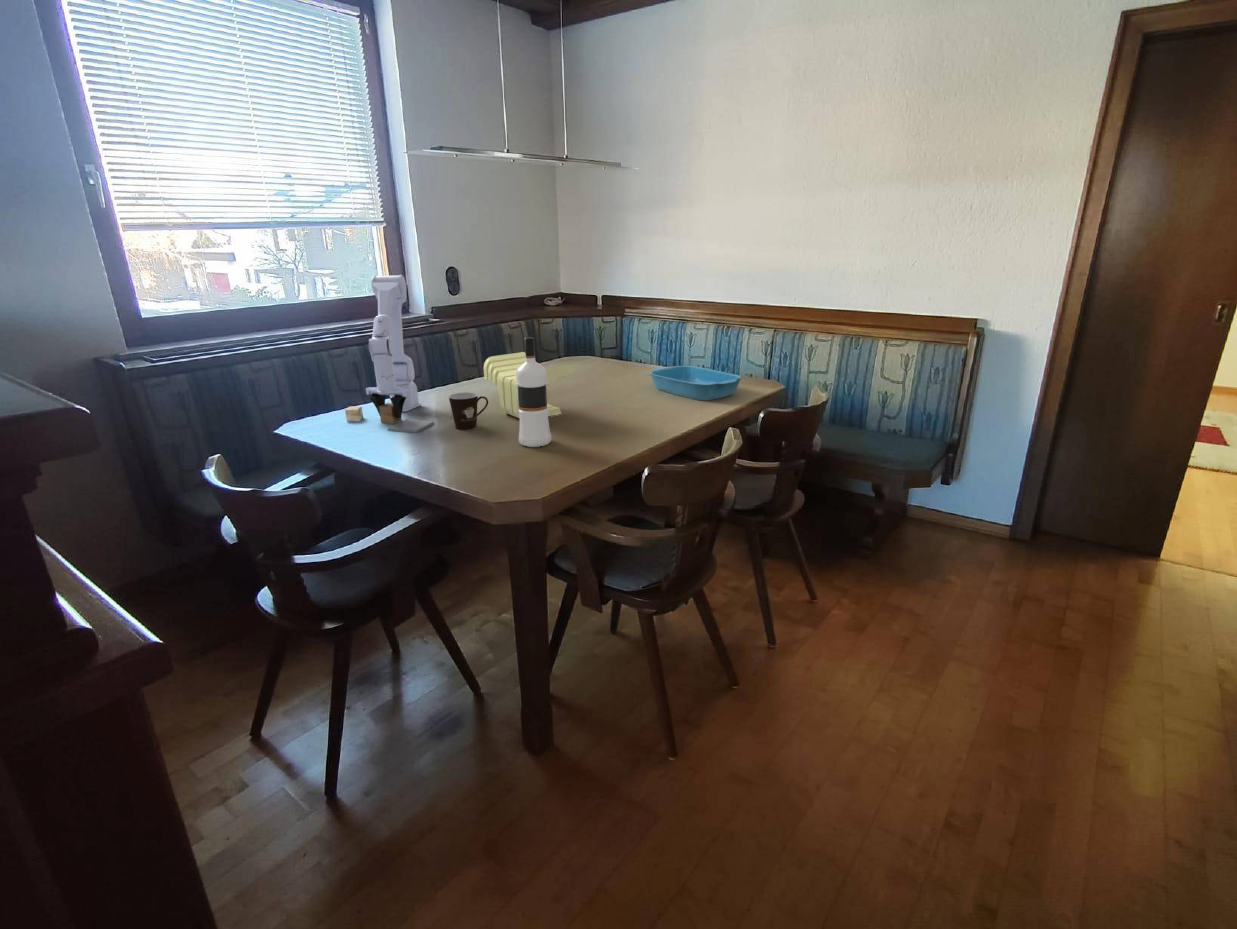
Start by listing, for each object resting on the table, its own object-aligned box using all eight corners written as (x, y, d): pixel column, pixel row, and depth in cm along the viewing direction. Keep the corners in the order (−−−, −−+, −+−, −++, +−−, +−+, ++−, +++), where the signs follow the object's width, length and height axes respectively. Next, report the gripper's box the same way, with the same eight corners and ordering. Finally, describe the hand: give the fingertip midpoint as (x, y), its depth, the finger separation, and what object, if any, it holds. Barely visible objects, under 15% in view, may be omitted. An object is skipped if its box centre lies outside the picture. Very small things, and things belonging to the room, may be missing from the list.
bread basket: (486, 409, 221) (482, 357, 215) (527, 402, 230) (524, 351, 224) (534, 429, 199) (530, 371, 193) (576, 419, 208) (574, 364, 202)
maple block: (350, 418, 213) (349, 406, 212) (363, 418, 213) (361, 406, 212) (346, 421, 209) (344, 409, 208) (359, 421, 209) (357, 409, 208)
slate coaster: (406, 421, 208) (406, 419, 208) (434, 423, 205) (433, 421, 205) (387, 430, 199) (387, 427, 199) (416, 432, 196) (415, 430, 196)
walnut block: (389, 419, 211) (387, 402, 209) (401, 420, 210) (399, 403, 208) (381, 423, 207) (378, 406, 205) (393, 424, 206) (391, 407, 204)
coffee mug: (451, 432, 197) (447, 399, 193) (452, 424, 205) (449, 393, 201) (490, 429, 199) (487, 397, 195) (489, 421, 207) (487, 391, 203)
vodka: (518, 448, 181) (510, 340, 171) (519, 438, 189) (512, 335, 179) (551, 447, 182) (546, 339, 171) (551, 437, 190) (546, 334, 180)
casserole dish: (639, 388, 250) (639, 369, 247) (682, 379, 263) (682, 362, 260) (708, 406, 222) (708, 386, 220) (752, 396, 235) (753, 377, 233)
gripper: (357, 376, 202) (363, 418, 206) (397, 379, 198) (403, 422, 202) (371, 372, 208) (377, 413, 213) (410, 374, 204) (416, 416, 209)
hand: (390, 417), depth 208 cm, fingers open, 5 cm apart
